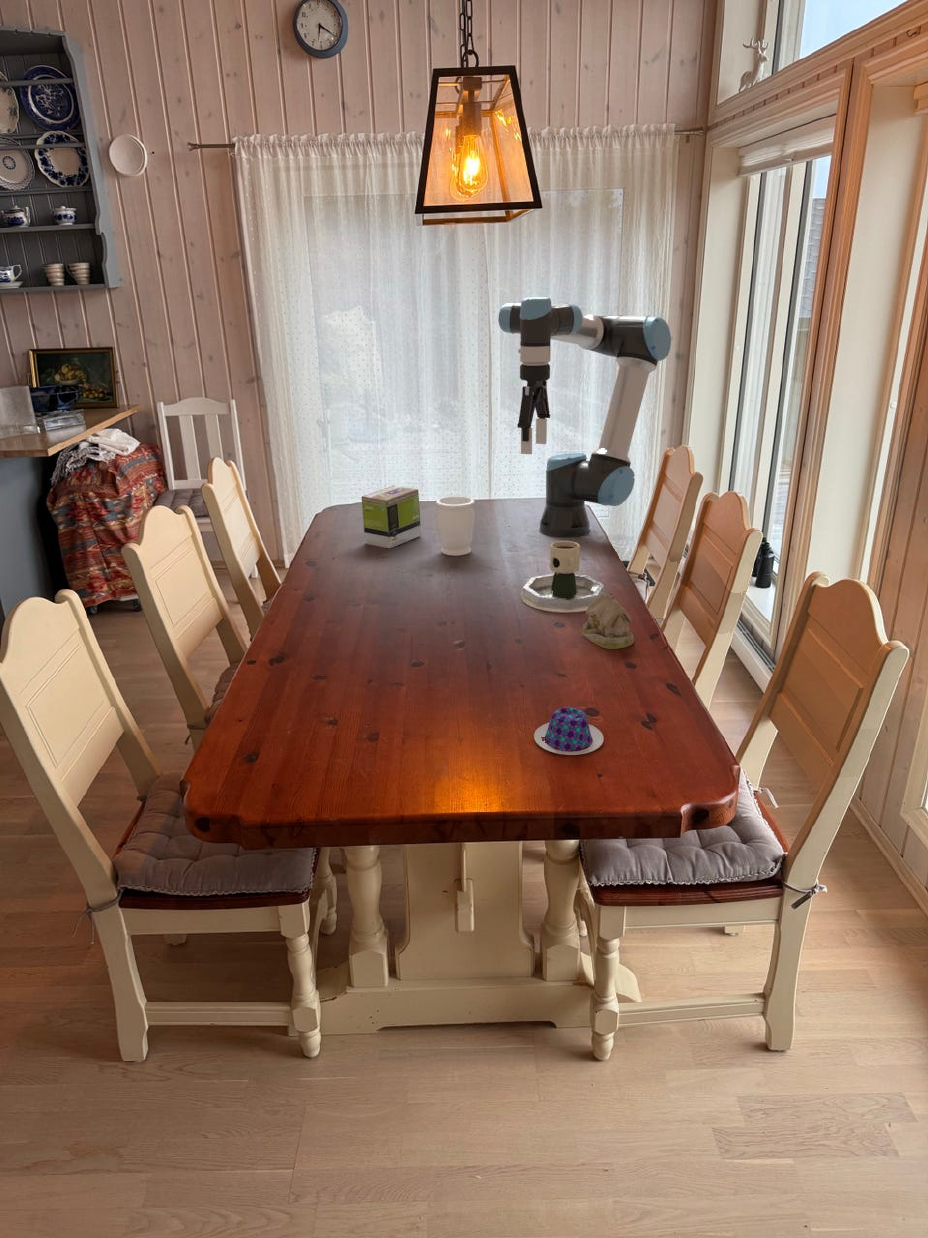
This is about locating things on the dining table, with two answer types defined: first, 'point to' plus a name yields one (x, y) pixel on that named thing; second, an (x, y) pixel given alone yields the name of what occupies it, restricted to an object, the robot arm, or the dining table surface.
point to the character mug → (564, 567)
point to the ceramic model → (607, 623)
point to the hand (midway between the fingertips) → (533, 448)
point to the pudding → (569, 733)
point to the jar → (455, 524)
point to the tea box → (391, 516)
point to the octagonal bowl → (542, 598)
